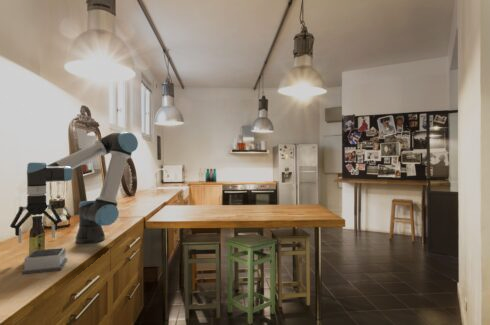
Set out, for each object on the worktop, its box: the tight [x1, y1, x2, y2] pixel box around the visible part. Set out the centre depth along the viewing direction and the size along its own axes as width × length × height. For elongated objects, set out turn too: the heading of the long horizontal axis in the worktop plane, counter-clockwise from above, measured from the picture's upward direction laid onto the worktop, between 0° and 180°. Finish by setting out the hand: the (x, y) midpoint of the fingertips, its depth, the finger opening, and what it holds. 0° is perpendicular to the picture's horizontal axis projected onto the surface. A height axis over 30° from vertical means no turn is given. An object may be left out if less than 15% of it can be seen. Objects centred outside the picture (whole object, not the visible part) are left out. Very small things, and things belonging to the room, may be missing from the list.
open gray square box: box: [21, 247, 69, 275], centre depth 138 cm, size 14×14×6 cm
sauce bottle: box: [28, 215, 46, 255], centre depth 150 cm, size 7×6×20 cm
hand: (37, 239), depth 150 cm, fingers open, 13 cm apart
